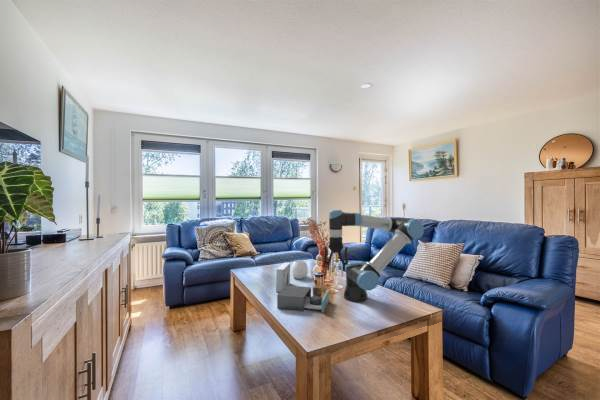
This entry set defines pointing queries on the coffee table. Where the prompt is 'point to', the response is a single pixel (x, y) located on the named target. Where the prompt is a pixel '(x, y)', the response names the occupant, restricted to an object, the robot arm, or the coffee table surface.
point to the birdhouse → (322, 306)
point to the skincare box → (282, 277)
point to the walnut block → (317, 291)
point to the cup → (299, 269)
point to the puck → (315, 300)
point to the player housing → (293, 298)
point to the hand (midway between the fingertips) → (336, 275)
